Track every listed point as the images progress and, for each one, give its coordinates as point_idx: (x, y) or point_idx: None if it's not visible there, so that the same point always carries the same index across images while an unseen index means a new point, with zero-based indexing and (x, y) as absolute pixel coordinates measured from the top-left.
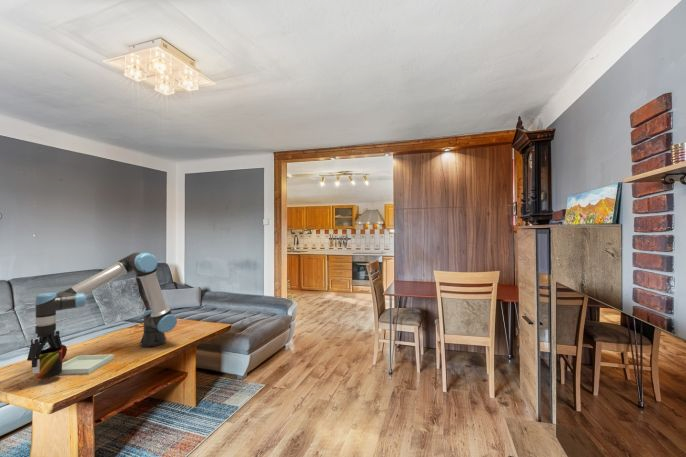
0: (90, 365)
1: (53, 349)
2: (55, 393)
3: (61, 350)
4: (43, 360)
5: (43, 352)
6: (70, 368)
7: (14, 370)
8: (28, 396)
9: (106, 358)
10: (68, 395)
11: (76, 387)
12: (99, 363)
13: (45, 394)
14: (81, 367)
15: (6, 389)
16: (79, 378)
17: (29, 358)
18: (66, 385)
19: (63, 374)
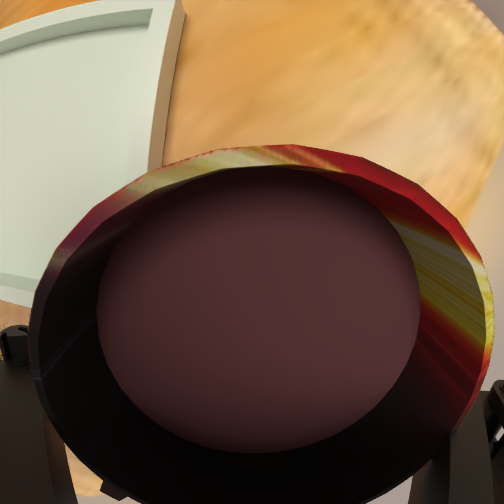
0: (35, 100)
1: (81, 420)
2: (459, 81)
3: (209, 154)
4: (425, 318)
5: (187, 483)
6: (130, 151)
7: (95, 477)
8: (467, 212)
9: (2, 28)
10: (474, 19)
11: (400, 2)
12: (66, 11)
13: (464, 129)
14: (55, 140)
15: None
16: (254, 33)
17: (497, 432)
18: (367, 62)
19: None
